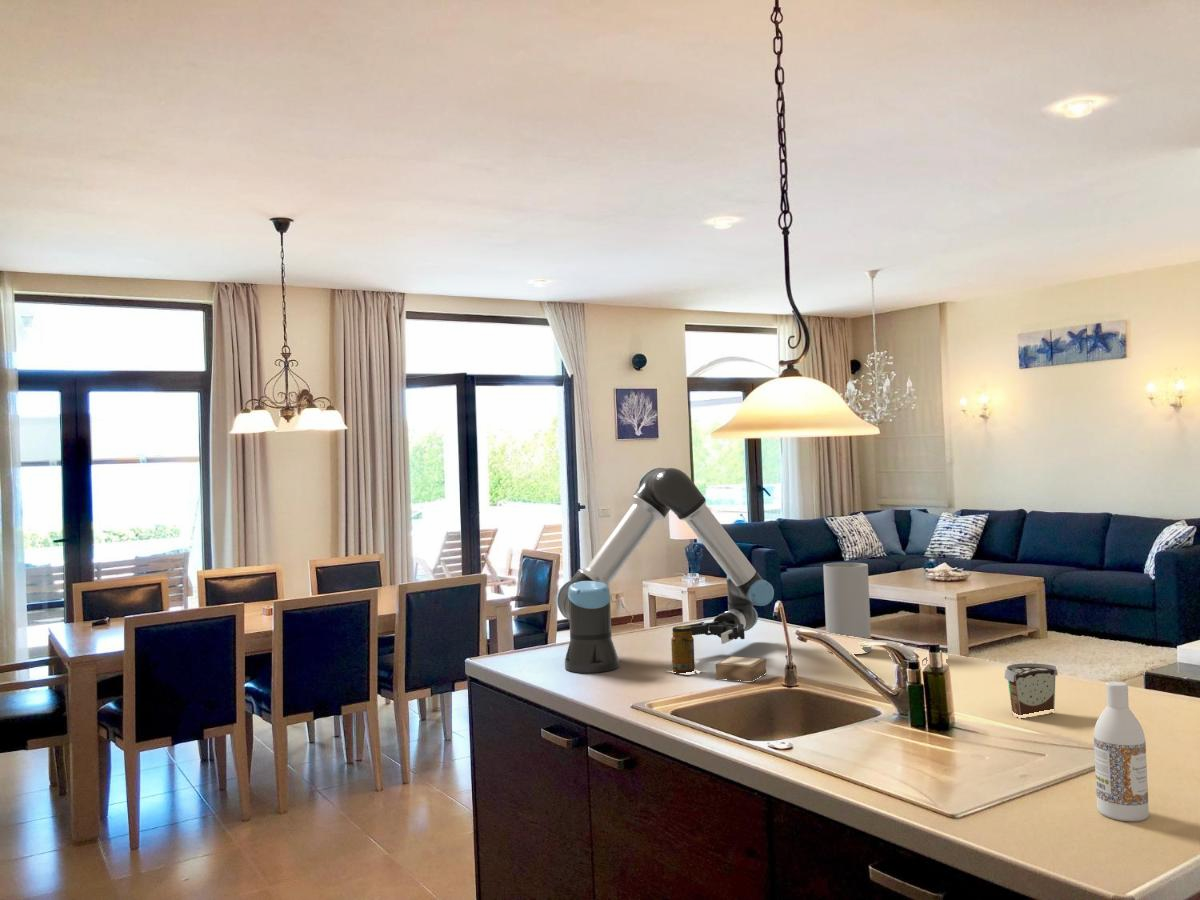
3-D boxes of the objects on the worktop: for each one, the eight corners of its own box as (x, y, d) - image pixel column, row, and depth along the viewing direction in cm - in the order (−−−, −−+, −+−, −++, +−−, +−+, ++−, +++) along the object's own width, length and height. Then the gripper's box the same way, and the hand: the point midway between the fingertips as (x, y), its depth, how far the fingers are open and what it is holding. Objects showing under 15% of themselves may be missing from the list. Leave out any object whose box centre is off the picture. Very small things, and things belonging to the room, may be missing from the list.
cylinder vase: (823, 647, 277) (819, 563, 277) (865, 646, 276) (861, 561, 277) (831, 656, 264) (828, 568, 265) (876, 655, 264) (872, 566, 264)
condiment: (684, 667, 257) (682, 624, 257) (706, 672, 251) (704, 627, 251) (664, 672, 253) (663, 627, 253) (687, 677, 246) (685, 631, 246)
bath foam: (1128, 826, 139) (1121, 691, 139) (1087, 810, 145) (1081, 681, 145) (1159, 817, 141) (1153, 685, 142) (1118, 803, 148) (1112, 676, 148)
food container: (1036, 706, 205) (1034, 660, 205) (1059, 712, 200) (1057, 665, 200) (992, 713, 201) (990, 666, 201) (1015, 720, 195) (1013, 672, 195)
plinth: (716, 679, 242) (715, 663, 242) (730, 671, 250) (730, 655, 250) (752, 682, 237) (751, 665, 237) (766, 674, 245) (765, 658, 245)
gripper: (769, 639, 272) (742, 653, 254) (691, 634, 285) (660, 648, 266) (768, 613, 272) (741, 626, 254) (690, 610, 285) (659, 621, 266)
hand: (699, 637), depth 260 cm, fingers open, 13 cm apart
